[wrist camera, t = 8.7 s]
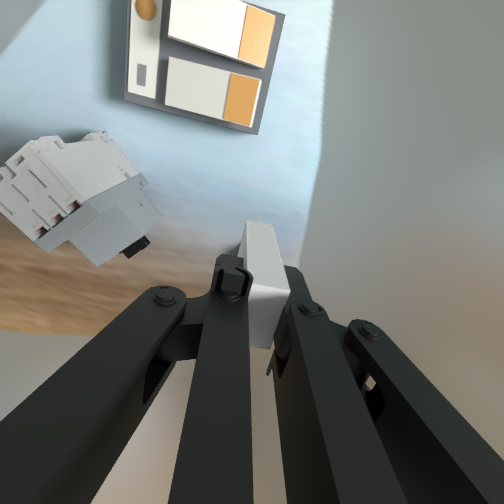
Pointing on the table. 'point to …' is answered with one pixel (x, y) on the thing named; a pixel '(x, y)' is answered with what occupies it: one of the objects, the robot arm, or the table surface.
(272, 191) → the table surface
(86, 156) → the circuit breaker
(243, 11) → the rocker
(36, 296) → the table surface
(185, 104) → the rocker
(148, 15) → the switch unit
